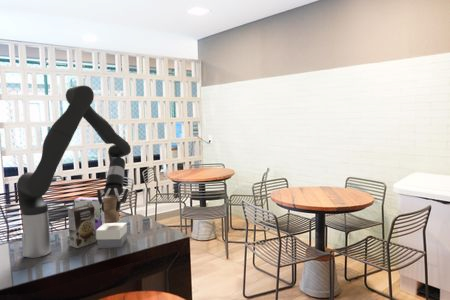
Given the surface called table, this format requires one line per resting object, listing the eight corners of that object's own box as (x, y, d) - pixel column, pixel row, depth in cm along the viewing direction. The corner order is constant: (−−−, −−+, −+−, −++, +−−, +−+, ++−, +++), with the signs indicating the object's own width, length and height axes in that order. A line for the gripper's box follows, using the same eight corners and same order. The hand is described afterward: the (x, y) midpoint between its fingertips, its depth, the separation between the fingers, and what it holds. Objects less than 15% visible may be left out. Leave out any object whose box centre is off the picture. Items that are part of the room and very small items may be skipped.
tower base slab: (97, 249, 149) (97, 239, 148) (104, 240, 159) (103, 232, 158) (122, 247, 149) (121, 238, 149) (126, 239, 159) (126, 231, 159)
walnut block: (104, 223, 151) (103, 198, 150) (107, 219, 156) (106, 195, 155) (116, 222, 151) (115, 197, 150) (119, 219, 156) (117, 194, 155)
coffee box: (77, 248, 148) (75, 211, 147) (69, 245, 152) (66, 209, 151) (96, 242, 156) (94, 206, 154) (88, 239, 160) (86, 204, 158)
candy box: (75, 233, 168) (72, 199, 166) (82, 229, 174) (79, 196, 172) (102, 234, 166) (100, 200, 164) (108, 230, 172) (106, 197, 170)
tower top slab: (96, 239, 149) (95, 230, 148) (104, 231, 159) (104, 222, 158) (119, 239, 148) (119, 230, 148) (127, 231, 158) (126, 222, 158)
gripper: (97, 173, 158) (91, 207, 148) (129, 172, 159) (125, 205, 149) (101, 183, 164) (95, 215, 153) (132, 182, 165) (128, 214, 154)
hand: (110, 210), depth 151 cm, fingers closed on walnut block, 5 cm apart
